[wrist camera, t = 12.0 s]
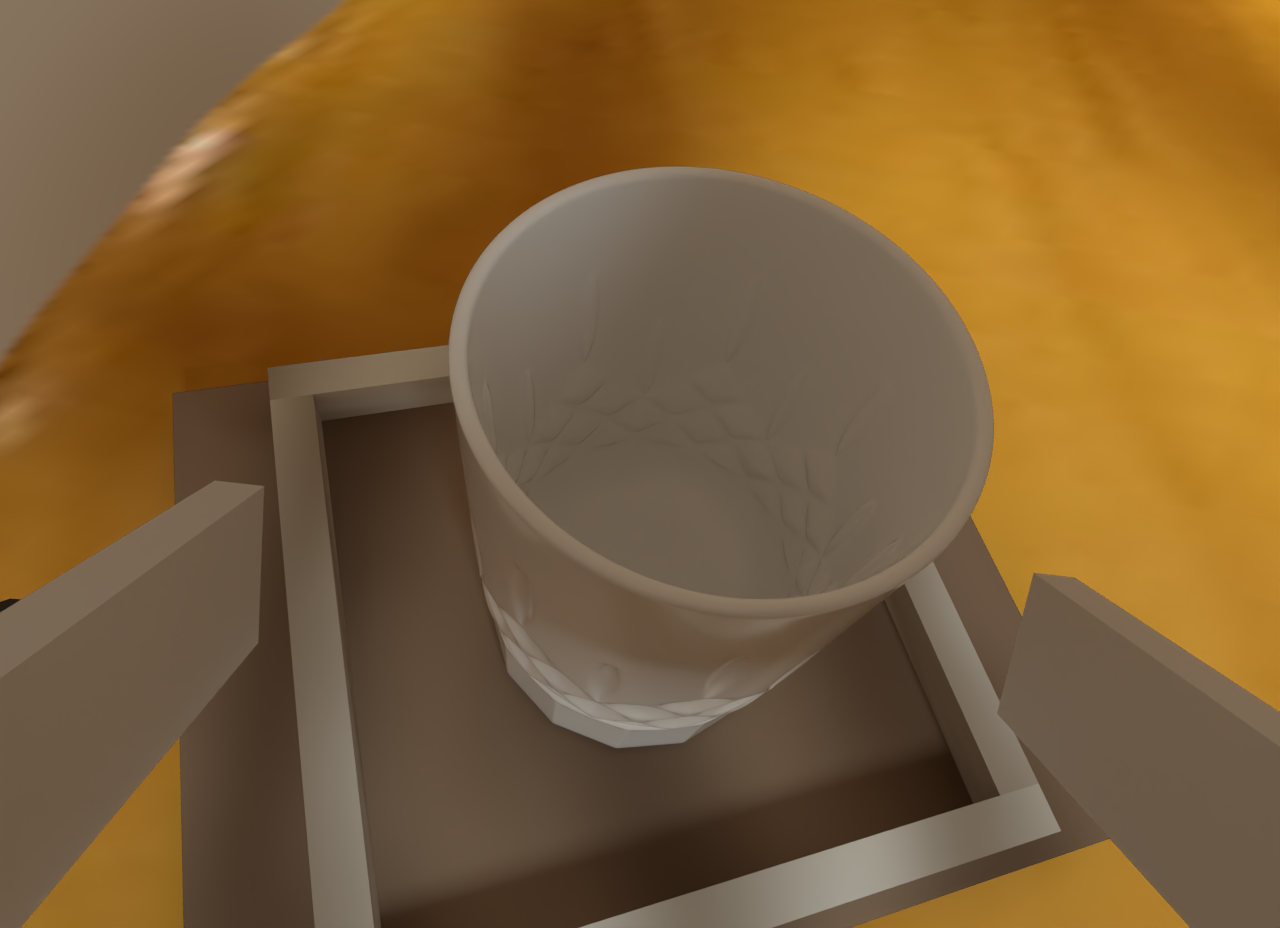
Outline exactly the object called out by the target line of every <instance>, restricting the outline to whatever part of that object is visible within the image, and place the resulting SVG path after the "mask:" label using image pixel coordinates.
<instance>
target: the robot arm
mask: <svg viewBox="0 0 1280 928" xmlns="http://www.w3.org/2000/svg"><path fill="white" fill-rule="evenodd" d="M263 503H264V486H259V485H250V484H241V483H233V482H224V481H213V482H212V483H210V484H208V485H207V486H205V487H203V488H202V489H200V490H199V491H197V492H195V493H194V494H192V495H190V496H189V497H187V498H186V499H184V500H182V501H181V502H179V503H177V504H176V505H174V506H173V507H171V508H169V509H168V510H166V511H164V512H163V513H161V514H160V515H158V516H156V517H155V518H153V519H151V520H150V521H148V522H147V523H145V524H143V525H142V526H140V527H138V528H137V529H135V530H134V531H132V532H130V533H129V534H127V535H125V536H124V537H122V538H121V539H119V540H117V541H116V542H114V543H112V544H111V545H109V546H108V547H106V548H104V549H103V550H101V551H99V552H98V553H96V554H95V555H93V556H91V557H90V558H88V559H86V560H85V561H83V562H82V563H80V564H78V565H77V566H75V567H73V568H72V569H70V570H69V571H67V572H65V573H64V574H62V575H60V576H59V577H57V578H56V579H54V580H52V581H51V582H49V583H47V584H46V585H44V586H43V587H41V588H39V589H38V590H36V591H34V592H33V593H31V594H30V595H28V596H26V597H25V598H23V599H21V600H20V599H8V600H5V601H2V602H0V928H21V927H22V925H23V924H24V923H25V922H26V921H27V919H28V918H29V917H30V916H31V915H32V913H33V912H34V911H35V910H36V909H37V907H38V906H39V905H40V904H41V903H42V901H43V900H44V899H45V898H46V897H47V895H48V894H49V893H50V892H51V891H52V889H53V888H54V887H55V886H56V885H57V883H58V882H59V881H60V880H61V879H62V877H63V876H64V875H65V874H66V873H67V871H68V870H69V869H70V868H71V867H72V865H73V864H74V863H75V862H76V861H77V859H78V858H79V857H80V856H81V855H82V853H83V852H84V851H85V850H86V849H87V847H88V846H89V845H90V844H91V843H92V841H93V840H94V839H95V838H96V837H97V835H98V834H99V833H100V832H101V831H102V830H103V828H104V827H105V826H106V825H107V824H108V822H109V821H110V820H111V819H112V818H113V816H114V815H115V814H116V813H117V812H118V810H119V809H120V808H121V807H122V806H123V804H124V803H125V802H126V801H127V800H128V798H129V797H130V796H131V795H132V794H133V792H134V791H135V790H136V789H137V788H138V786H139V785H140V784H141V783H142V782H143V780H144V779H145V778H146V777H147V776H148V774H149V773H150V772H151V771H152V770H153V768H154V767H155V766H156V765H157V764H158V762H159V761H160V760H161V759H162V758H163V756H164V755H165V754H166V753H167V752H168V750H169V749H170V748H171V747H172V746H173V744H174V743H175V742H176V741H177V740H178V738H179V737H180V736H181V735H182V734H183V732H184V731H185V730H186V729H187V728H188V726H189V725H190V724H191V723H192V722H193V720H194V719H195V718H196V717H197V716H198V714H199V713H200V712H201V711H202V710H203V708H204V707H205V706H206V705H207V704H208V702H209V701H210V700H211V699H212V698H213V696H214V695H215V694H216V693H217V692H218V690H219V689H220V688H221V687H222V686H223V684H224V683H225V682H226V681H227V680H228V678H229V677H230V676H231V675H232V674H233V672H234V671H235V670H236V669H237V668H238V666H239V665H240V664H241V663H242V662H243V660H244V659H245V658H246V657H247V656H248V654H249V653H250V652H251V651H252V650H253V648H254V647H255V646H256V645H257V644H258V633H259V607H260V581H261V555H262V529H263ZM997 714H998V715H999V716H1000V717H1001V719H1002V720H1003V721H1004V722H1005V723H1006V724H1007V725H1008V726H1009V727H1010V728H1011V730H1012V731H1013V732H1014V733H1015V734H1016V735H1017V736H1018V737H1019V738H1020V740H1021V741H1022V742H1023V743H1024V744H1025V745H1026V746H1027V747H1028V748H1029V750H1030V751H1031V752H1032V753H1033V754H1034V755H1035V756H1036V757H1037V758H1038V759H1039V761H1040V762H1041V763H1042V764H1043V765H1044V766H1045V767H1046V768H1047V769H1048V771H1049V772H1050V773H1051V774H1052V775H1053V776H1054V777H1055V778H1056V779H1057V781H1058V782H1059V783H1060V784H1061V785H1062V786H1063V787H1064V788H1065V789H1066V791H1067V792H1068V793H1069V794H1070V795H1071V796H1072V797H1073V798H1074V799H1075V800H1076V802H1077V803H1078V804H1079V805H1080V806H1081V807H1082V808H1083V809H1084V810H1085V812H1086V813H1087V814H1088V815H1089V816H1090V817H1091V818H1092V819H1093V820H1094V822H1095V823H1096V824H1097V825H1098V826H1099V827H1100V828H1101V829H1102V830H1103V831H1104V833H1105V834H1106V835H1107V836H1108V837H1109V838H1110V839H1111V840H1112V841H1113V843H1114V844H1115V845H1116V846H1117V847H1118V848H1119V849H1120V850H1121V851H1122V853H1123V854H1124V855H1125V856H1126V857H1127V858H1128V859H1129V860H1130V861H1131V862H1132V864H1133V865H1134V866H1135V867H1136V868H1137V869H1138V870H1139V871H1140V872H1141V874H1142V875H1143V876H1144V877H1145V878H1146V879H1147V880H1148V881H1149V882H1150V884H1151V885H1152V886H1153V887H1154V888H1155V889H1156V890H1157V891H1158V892H1159V893H1160V895H1161V896H1162V897H1163V898H1164V899H1165V900H1166V901H1167V902H1168V903H1169V905H1170V906H1171V907H1172V908H1173V909H1174V910H1175V911H1176V912H1177V913H1178V915H1179V916H1180V917H1181V918H1182V919H1183V920H1184V921H1185V922H1186V923H1187V924H1188V926H1189V927H1190V928H1280V712H1279V711H1277V710H1276V709H1274V708H1273V707H1271V706H1269V705H1268V704H1266V703H1265V702H1263V701H1262V700H1260V699H1259V698H1257V697H1256V696H1254V695H1253V694H1251V693H1250V692H1248V691H1247V690H1245V689H1244V688H1242V687H1241V686H1239V685H1237V684H1236V683H1234V682H1233V681H1231V680H1230V679H1228V678H1227V677H1225V676H1224V675H1222V674H1221V673H1219V672H1218V671H1216V670H1215V669H1213V668H1212V667H1210V666H1209V665H1207V664H1205V663H1204V662H1202V661H1201V660H1199V659H1198V658H1196V657H1195V656H1193V655H1192V654H1190V653H1189V652H1187V651H1186V650H1184V649H1183V648H1181V647H1180V646H1178V645H1177V644H1175V643H1173V642H1172V641H1170V640H1169V639H1167V638H1166V637H1164V636H1163V635H1161V634H1160V633H1158V632H1157V631H1155V630H1154V629H1152V628H1151V627H1149V626H1148V625H1146V624H1145V623H1143V622H1142V621H1140V620H1138V619H1137V618H1135V617H1134V616H1132V615H1131V614H1129V613H1128V612H1126V611H1125V610H1123V609H1122V608H1120V607H1119V606H1117V605H1116V604H1114V603H1113V602H1111V601H1110V600H1108V599H1106V598H1105V597H1103V596H1102V595H1100V594H1099V593H1097V592H1096V591H1094V590H1093V589H1091V588H1090V587H1088V586H1087V585H1085V584H1084V583H1082V582H1081V581H1079V580H1078V579H1076V578H1073V577H1065V576H1056V575H1047V574H1038V573H1034V574H1033V578H1032V582H1031V586H1030V590H1029V593H1028V597H1027V601H1026V605H1025V609H1024V612H1023V616H1022V620H1021V624H1020V628H1019V631H1018V635H1017V639H1016V643H1015V647H1014V651H1013V654H1012V658H1011V662H1010V666H1009V670H1008V673H1007V677H1006V681H1005V685H1004V689H1003V692H1002V696H1001V700H1000V704H999V708H998V712H997Z"/></svg>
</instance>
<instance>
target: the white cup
mask: <svg viewBox="0 0 1280 928" xmlns="http://www.w3.org/2000/svg"><path fill="white" fill-rule="evenodd" d="M448 368H449V379H450V387H451V393H452V399H453V405H454V412H455V418H456V424H457V431H458V437H459V444H460V450H461V457H462V464H463V471H464V477H465V484H466V491H467V499H468V506H469V513H470V520H471V527H472V533H473V540H474V546H475V551H476V556H477V561H478V566H479V572H480V577H481V579H482V584H483V589H484V594H485V598H486V603H487V606H488V608H489V611H490V613H491V615H492V618H493V621H494V625H495V629H496V633H497V636H498V640H499V644H500V647H501V651H502V655H503V658H504V662H505V666H506V669H507V672H508V674H509V675H510V676H511V678H512V679H513V680H514V681H515V682H516V683H517V684H518V685H519V686H520V688H521V689H522V690H523V691H524V692H525V693H526V694H527V695H528V696H529V698H530V699H531V700H532V701H533V702H534V703H535V704H536V705H537V706H538V708H539V709H540V710H541V711H542V712H543V713H544V714H545V715H546V716H547V718H548V719H549V720H550V721H551V722H552V723H554V724H556V725H558V726H561V727H563V728H566V729H568V730H571V731H573V732H576V733H578V734H581V735H583V736H586V737H588V738H591V739H593V740H596V741H598V742H601V743H603V744H606V745H608V746H611V747H614V748H628V747H640V746H653V745H665V744H677V743H684V742H685V741H687V740H689V739H690V738H692V737H693V736H695V735H697V734H698V733H700V732H701V731H703V730H704V729H706V728H708V727H709V726H711V725H712V724H714V723H716V722H717V721H719V720H720V719H722V718H723V717H725V716H727V715H728V714H730V713H731V712H734V711H736V710H739V709H741V708H743V707H745V706H747V705H748V704H750V703H751V702H753V701H754V700H755V699H757V698H758V697H760V696H761V695H762V694H764V693H765V692H766V691H768V690H771V689H772V688H773V687H774V686H775V685H777V684H778V683H780V682H781V681H782V680H784V679H785V678H787V677H788V676H789V675H791V674H792V673H793V672H795V671H796V670H797V669H798V668H800V667H801V666H802V665H804V664H805V663H806V662H807V661H809V660H810V659H811V658H812V657H814V656H815V655H816V654H817V653H818V652H820V651H821V650H822V649H823V648H825V647H826V646H827V645H828V644H830V643H831V642H832V641H833V640H835V639H836V638H837V637H838V636H839V635H841V634H842V633H843V632H844V631H846V630H847V629H848V628H849V627H851V626H852V625H853V624H854V623H855V622H857V621H858V620H859V619H860V618H862V617H863V616H864V615H865V614H867V613H868V612H869V611H871V610H872V609H873V608H874V607H876V606H877V605H878V604H879V603H881V602H882V601H883V600H885V599H886V598H887V597H888V596H890V595H891V594H892V593H893V592H895V591H896V590H897V589H899V588H900V587H901V586H902V585H904V584H905V583H906V582H907V581H909V580H910V579H911V578H913V577H914V576H915V575H916V574H918V573H919V572H920V571H922V570H923V569H924V568H925V567H927V566H928V565H929V564H930V563H931V562H933V561H934V560H935V559H936V558H937V557H938V556H939V555H940V554H941V553H942V552H943V551H944V550H945V549H946V548H947V547H948V546H949V545H950V543H951V542H952V541H953V540H954V539H955V537H956V536H957V535H958V534H959V532H960V531H961V530H962V528H963V527H964V525H965V524H966V522H967V520H968V519H969V517H970V515H971V514H972V512H973V510H974V508H975V506H976V504H977V502H978V500H979V498H980V495H981V493H982V490H983V487H984V485H985V482H986V478H987V475H988V471H989V467H990V462H991V457H992V450H993V438H994V419H993V407H992V400H991V394H990V389H989V384H988V380H987V377H986V373H985V370H984V367H983V364H982V361H981V358H980V356H979V353H978V351H977V348H976V346H975V344H974V342H973V339H972V337H971V335H970V333H969V332H968V330H967V328H966V326H965V324H964V322H963V321H962V319H961V317H960V316H959V314H958V313H957V311H956V310H955V308H954V307H953V305H952V304H951V302H950V301H949V300H948V298H947V297H946V295H945V294H944V293H943V292H942V290H941V289H940V288H939V287H938V285H937V284H936V283H935V282H934V281H933V280H932V278H931V277H930V276H929V275H928V274H927V273H926V272H925V271H924V270H923V269H922V268H921V267H920V266H919V265H918V264H917V263H916V262H915V261H914V260H913V259H912V258H911V257H910V256H909V255H908V254H907V253H905V252H904V251H903V250H902V249H901V248H900V247H898V246H897V245H896V244H895V243H894V242H892V241H891V240H890V239H888V238H887V237H886V236H885V235H883V234H882V233H880V232H879V231H878V230H876V229H875V228H873V227H872V226H870V225H869V224H867V223H866V222H864V221H863V220H861V219H859V218H858V217H856V216H854V215H853V214H851V213H849V212H848V211H846V210H844V209H842V208H840V207H838V206H836V205H834V204H832V203H830V202H828V201H826V200H824V199H822V198H820V197H817V196H815V195H813V194H810V193H808V192H806V191H803V190H800V189H798V188H795V187H792V186H789V185H786V184H783V183H780V182H777V181H774V180H770V179H767V178H763V177H759V176H755V175H751V174H746V173H741V172H736V171H730V170H723V169H715V168H705V167H688V166H666V167H650V168H640V169H633V170H626V171H621V172H616V173H611V174H607V175H603V176H599V177H596V178H592V179H589V180H586V181H583V182H580V183H578V184H575V185H572V186H570V187H568V188H565V189H563V190H561V191H559V192H557V193H555V194H552V195H551V196H549V197H547V198H545V199H543V200H542V201H540V202H538V203H537V204H535V205H533V206H532V207H530V208H529V209H527V210H526V211H525V212H523V213H522V214H520V215H519V216H518V217H517V218H515V219H514V220H513V221H512V222H511V223H509V224H508V225H507V226H506V227H505V228H504V229H503V230H502V231H501V232H500V233H499V234H498V235H497V236H496V237H495V238H494V239H493V240H492V241H491V242H490V244H489V245H488V246H487V247H486V248H485V250H484V251H483V252H482V254H481V255H480V257H479V258H478V259H477V261H476V263H475V264H474V266H473V267H472V269H471V271H470V273H469V275H468V276H467V278H466V280H465V283H464V285H463V287H462V289H461V292H460V294H459V297H458V300H457V303H456V306H455V310H454V313H453V318H452V322H451V328H450V335H449V345H448Z"/></svg>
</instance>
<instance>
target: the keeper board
mask: <svg viewBox="0 0 1280 928" xmlns="http://www.w3.org/2000/svg"><path fill="white" fill-rule="evenodd" d="M267 372H268V381H264V382H256V383H248V384H240V385H233V386H225V387H217V388H209V389H202V390H194V391H186V392H178V393H173V436H174V484H175V505H176V504H177V503H179V502H181V501H182V500H184V499H186V498H187V497H189V496H190V495H192V494H194V493H195V492H197V491H199V490H200V489H202V488H203V487H205V486H207V485H208V484H210V483H212V482H213V481H224V482H233V483H241V484H250V485H259V486H264V503H263V529H262V555H261V581H260V607H259V633H258V644H257V645H256V646H255V647H254V648H253V650H252V651H251V652H250V653H249V654H248V656H247V657H246V658H245V659H244V660H243V662H242V663H241V664H240V665H239V666H238V668H237V669H236V670H235V671H234V672H233V674H232V675H231V676H230V677H229V678H228V680H227V681H226V682H225V683H224V684H223V686H222V687H221V688H220V689H219V690H218V692H217V693H216V694H215V695H214V696H213V698H212V699H211V700H210V701H209V702H208V704H207V705H206V706H205V707H204V708H203V710H202V711H201V712H200V713H199V714H198V716H197V717H196V718H195V719H194V720H193V722H192V723H191V724H190V725H189V726H188V728H187V729H186V730H185V731H184V732H183V734H182V735H181V736H180V774H181V823H182V871H183V919H184V928H850V927H853V926H856V925H859V924H862V923H865V922H868V921H871V920H874V919H877V918H880V917H882V916H885V915H888V914H891V913H894V912H897V911H900V910H903V909H906V908H909V907H912V906H914V905H917V904H920V903H923V902H926V901H929V900H932V899H935V898H938V897H941V896H944V895H947V894H949V893H952V892H955V891H958V890H961V889H964V888H967V887H970V886H973V885H976V884H979V883H982V882H984V881H987V880H990V879H993V878H996V877H999V876H1002V875H1005V874H1008V873H1011V872H1014V871H1017V870H1019V869H1022V868H1025V867H1028V866H1031V865H1034V864H1037V863H1040V862H1043V861H1046V860H1049V859H1051V858H1054V857H1057V856H1060V855H1063V854H1066V853H1069V852H1072V851H1075V850H1078V849H1081V848H1084V847H1086V846H1089V845H1092V844H1095V843H1098V842H1101V841H1104V840H1107V839H1110V838H1109V837H1108V836H1107V835H1106V834H1105V833H1104V831H1103V830H1102V829H1101V828H1100V827H1099V826H1098V825H1097V824H1096V823H1095V822H1094V820H1093V819H1092V818H1091V817H1090V816H1089V815H1088V814H1087V813H1086V812H1085V810H1084V809H1083V808H1082V807H1081V806H1080V805H1079V804H1078V803H1077V802H1076V800H1075V799H1074V798H1073V797H1072V796H1071V795H1070V794H1069V793H1068V792H1067V791H1066V789H1065V788H1064V787H1063V786H1062V785H1061V784H1060V783H1059V782H1058V781H1057V779H1056V778H1055V777H1054V776H1053V775H1052V774H1051V773H1050V772H1049V771H1048V769H1047V768H1046V767H1045V766H1044V765H1043V764H1042V763H1041V762H1040V761H1039V759H1038V758H1037V757H1036V756H1035V755H1034V754H1033V753H1032V752H1031V751H1030V750H1029V748H1028V747H1027V746H1026V745H1025V744H1024V743H1023V742H1022V741H1021V740H1020V738H1019V737H1018V736H1017V735H1016V734H1015V733H1014V732H1013V731H1012V730H1011V728H1010V727H1009V726H1008V725H1007V724H1006V723H1005V722H1004V721H1003V720H1002V719H1001V717H1000V716H999V715H998V714H997V712H998V708H999V704H1000V700H1001V696H1002V692H1003V689H1004V685H1005V681H1006V677H1007V673H1008V670H1009V666H1010V662H1011V658H1012V654H1013V651H1014V647H1015V643H1016V639H1017V635H1018V631H1019V628H1020V624H1021V620H1022V616H1021V614H1020V612H1019V610H1018V608H1017V606H1016V604H1015V602H1014V600H1013V598H1012V597H1011V595H1010V593H1009V591H1008V589H1007V587H1006V585H1005V583H1004V581H1003V579H1002V577H1001V575H1000V573H999V571H998V569H997V567H996V565H995V563H994V561H993V559H992V557H991V555H990V554H989V552H988V550H987V548H986V546H985V544H984V542H983V540H982V538H981V536H980V534H979V532H978V530H977V528H976V526H975V524H974V522H973V520H972V518H971V516H970V517H969V519H968V520H967V522H966V524H965V525H964V527H963V528H962V530H961V531H960V532H959V534H958V535H957V536H956V537H955V539H954V540H953V541H952V542H951V543H950V545H949V546H948V547H947V548H946V549H945V550H944V551H943V552H942V553H941V554H940V555H939V556H938V557H937V558H936V559H935V560H934V561H933V562H931V563H930V564H929V565H928V566H927V567H925V568H924V569H923V570H922V571H920V572H919V573H918V574H916V575H915V576H914V577H913V578H911V579H910V580H909V581H907V582H906V583H905V584H904V585H902V586H901V587H900V588H899V589H897V590H896V591H895V592H893V593H892V594H891V595H890V596H888V597H887V598H886V599H885V600H883V601H882V602H881V603H879V604H878V605H877V606H876V607H874V608H873V609H872V610H871V611H869V612H868V613H867V614H865V615H864V616H863V617H862V618H860V619H859V620H858V621H857V622H855V623H854V624H853V625H852V626H851V627H849V628H848V629H847V630H846V631H844V632H843V633H842V634H841V635H839V636H838V637H837V638H836V639H835V640H833V641H832V642H831V643H830V644H828V645H827V646H826V647H825V648H823V649H822V650H821V651H820V652H818V653H817V654H816V655H815V656H814V657H812V658H811V659H810V660H809V661H807V662H806V663H805V664H804V665H802V666H801V667H800V668H798V669H797V670H796V671H795V672H793V673H792V674H791V675H789V676H788V677H787V678H785V679H784V680H782V681H781V682H780V683H778V684H777V685H775V686H774V687H773V688H772V689H771V690H768V691H766V692H765V693H764V694H762V695H761V696H760V697H758V698H757V699H755V700H754V701H753V702H751V703H750V704H748V705H747V706H745V707H743V708H741V709H739V710H736V711H734V712H731V713H730V714H728V715H727V716H725V717H723V718H722V719H720V720H719V721H717V722H716V723H714V724H712V725H711V726H709V727H708V728H706V729H704V730H703V731H701V732H700V733H698V734H697V735H695V736H693V737H692V738H690V739H689V740H687V741H685V742H684V743H677V744H665V745H653V746H640V747H628V748H614V747H611V746H608V745H606V744H603V743H601V742H598V741H596V740H593V739H591V738H588V737H586V736H583V735H581V734H578V733H576V732H573V731H571V730H568V729H566V728H563V727H561V726H558V725H556V724H554V723H552V722H551V721H550V720H549V719H548V718H547V716H546V715H545V714H544V713H543V712H542V711H541V710H540V709H539V708H538V706H537V705H536V704H535V703H534V702H533V701H532V700H531V699H530V698H529V696H528V695H527V694H526V693H525V692H524V691H523V690H522V689H521V688H520V686H519V685H518V684H517V683H516V682H515V681H514V680H513V679H512V678H511V676H510V675H509V674H508V672H507V669H506V666H505V662H504V658H503V655H502V651H501V647H500V644H499V640H498V636H497V633H496V629H495V625H494V621H493V618H492V615H491V613H490V611H489V608H488V606H487V603H486V598H485V594H484V589H483V584H482V579H481V577H480V572H479V566H478V561H477V556H476V551H475V546H474V540H473V533H472V527H471V520H470V513H469V506H468V499H467V491H466V484H465V477H464V471H463V464H462V457H461V450H460V444H459V437H458V431H457V424H456V418H455V412H454V405H453V399H452V393H451V387H450V379H449V368H448V345H444V346H436V347H428V348H420V349H412V350H404V351H396V352H388V353H380V354H372V355H364V356H356V357H348V358H340V359H332V360H324V361H316V362H308V363H300V364H292V365H284V366H276V367H268V368H267Z"/></svg>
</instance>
